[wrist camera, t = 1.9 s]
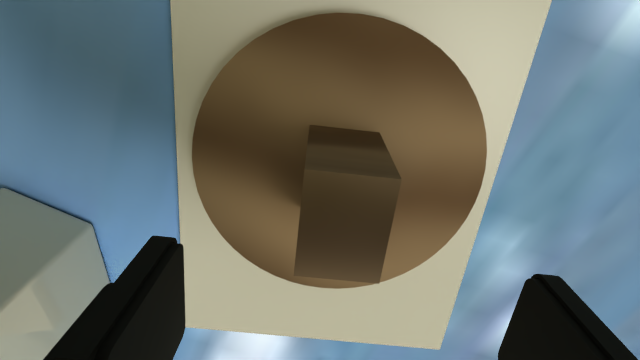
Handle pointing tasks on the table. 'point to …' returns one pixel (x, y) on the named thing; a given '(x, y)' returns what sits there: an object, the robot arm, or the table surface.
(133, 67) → the table surface
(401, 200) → the lid
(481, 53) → the placemat
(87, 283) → the jar
